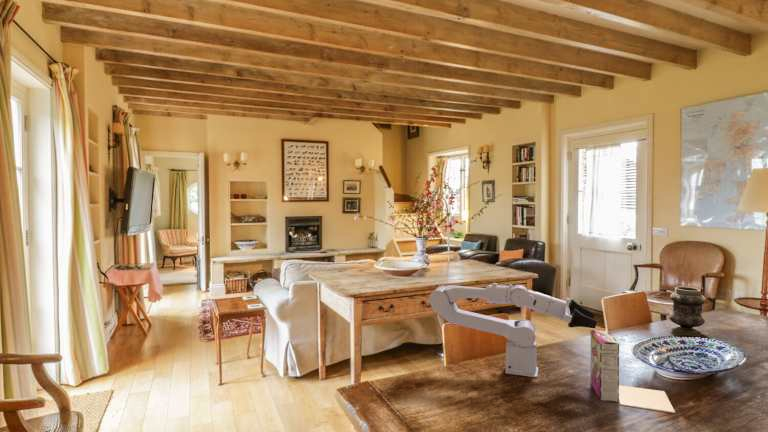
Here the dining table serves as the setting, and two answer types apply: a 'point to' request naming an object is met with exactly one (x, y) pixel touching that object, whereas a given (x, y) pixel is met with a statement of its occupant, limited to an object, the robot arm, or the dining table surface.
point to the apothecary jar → (687, 310)
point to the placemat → (644, 399)
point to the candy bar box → (605, 365)
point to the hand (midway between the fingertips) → (594, 320)
